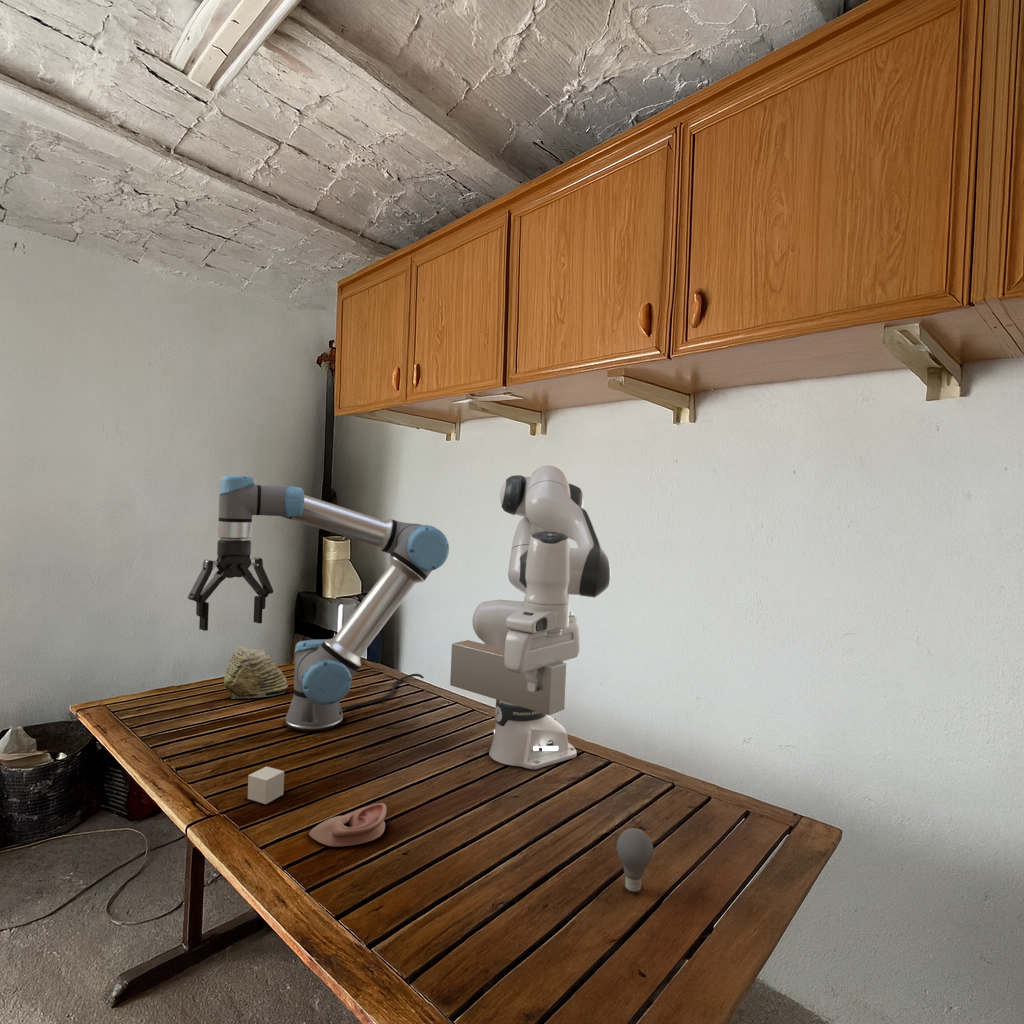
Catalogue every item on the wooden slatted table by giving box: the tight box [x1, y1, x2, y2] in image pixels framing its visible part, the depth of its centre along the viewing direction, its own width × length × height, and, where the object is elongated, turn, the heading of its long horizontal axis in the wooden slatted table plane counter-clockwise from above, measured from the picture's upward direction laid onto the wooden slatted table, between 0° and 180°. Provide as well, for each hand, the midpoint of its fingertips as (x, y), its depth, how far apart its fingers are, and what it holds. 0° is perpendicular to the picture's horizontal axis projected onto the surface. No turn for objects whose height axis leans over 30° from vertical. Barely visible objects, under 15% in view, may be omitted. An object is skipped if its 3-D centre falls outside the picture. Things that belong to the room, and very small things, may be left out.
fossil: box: [223, 646, 289, 700], centre depth 198 cm, size 9×18×15 cm, turn 132°
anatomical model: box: [308, 802, 387, 848], centre depth 120 cm, size 13×4×12 cm
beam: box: [449, 639, 567, 716], centre depth 128 cm, size 5×26×9 cm, turn 51°
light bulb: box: [616, 827, 654, 893], centre depth 106 cm, size 6×6×10 cm
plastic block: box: [247, 766, 285, 805], centre depth 133 cm, size 5×5×5 cm
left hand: (231, 626), depth 154 cm, fingers open, 13 cm apart
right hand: (542, 687), depth 122 cm, fingers closed on beam, 5 cm apart
